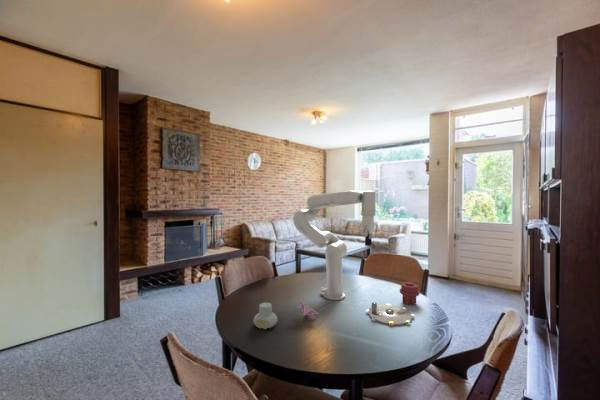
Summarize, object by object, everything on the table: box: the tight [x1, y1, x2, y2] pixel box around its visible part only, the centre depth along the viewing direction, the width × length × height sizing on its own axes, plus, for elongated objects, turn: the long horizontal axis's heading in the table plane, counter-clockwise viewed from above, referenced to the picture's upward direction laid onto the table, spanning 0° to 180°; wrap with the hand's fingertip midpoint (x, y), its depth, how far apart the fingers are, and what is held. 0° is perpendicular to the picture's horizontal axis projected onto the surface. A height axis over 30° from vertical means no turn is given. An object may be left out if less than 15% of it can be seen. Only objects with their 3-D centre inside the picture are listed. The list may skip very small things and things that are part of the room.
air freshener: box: [253, 302, 278, 330], centre depth 127 cm, size 11×8×10 cm
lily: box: [296, 299, 319, 323], centre depth 133 cm, size 12×12×10 cm
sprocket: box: [365, 301, 415, 327], centre depth 135 cm, size 22×22×6 cm
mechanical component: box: [399, 281, 420, 306], centre depth 151 cm, size 12×10×10 cm
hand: (368, 245), depth 154 cm, fingers closed
